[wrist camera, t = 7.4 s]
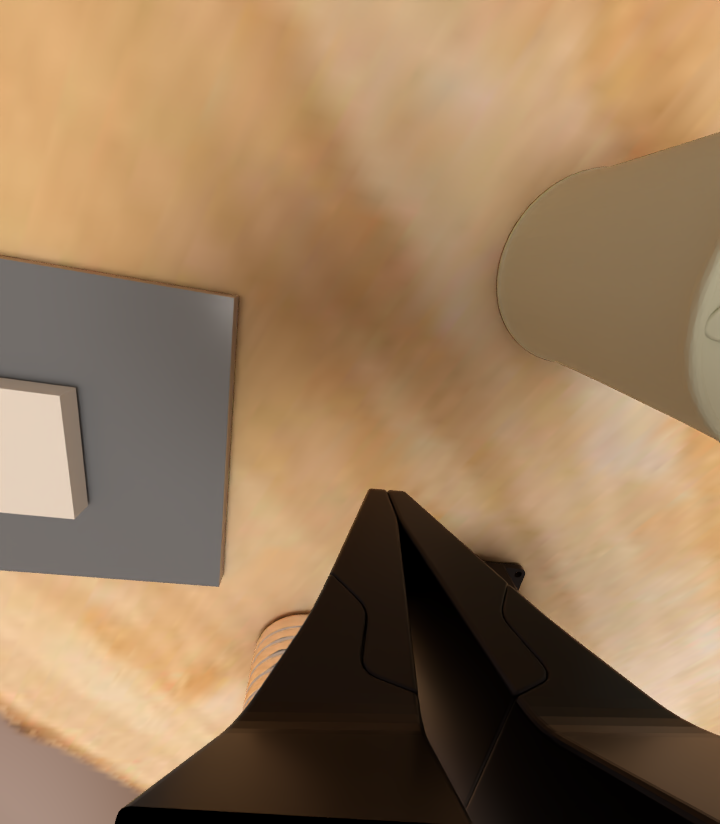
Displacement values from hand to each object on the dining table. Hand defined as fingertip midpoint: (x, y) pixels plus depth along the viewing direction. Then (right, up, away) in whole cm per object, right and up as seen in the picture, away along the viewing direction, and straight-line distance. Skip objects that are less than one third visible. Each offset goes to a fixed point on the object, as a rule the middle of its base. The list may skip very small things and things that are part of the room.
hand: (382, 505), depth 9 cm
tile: (-15, 0, +11) cm, 18 cm away
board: (-16, +1, +12) cm, 20 cm away
